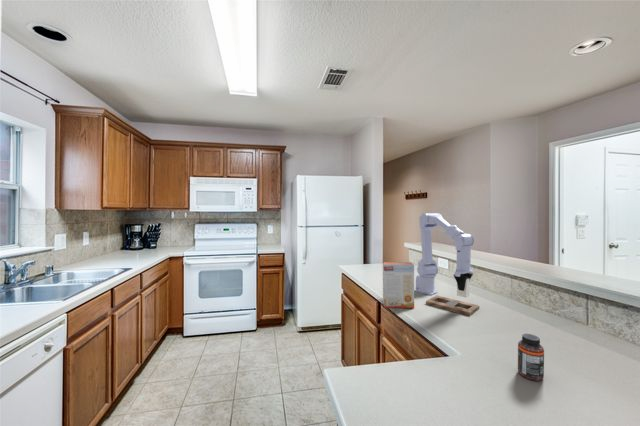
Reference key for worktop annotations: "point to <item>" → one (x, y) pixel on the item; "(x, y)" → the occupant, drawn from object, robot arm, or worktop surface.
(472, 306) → the socket panel
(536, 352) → the supplement bottle
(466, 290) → the plug
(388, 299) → the cracker box
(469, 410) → the worktop surface
